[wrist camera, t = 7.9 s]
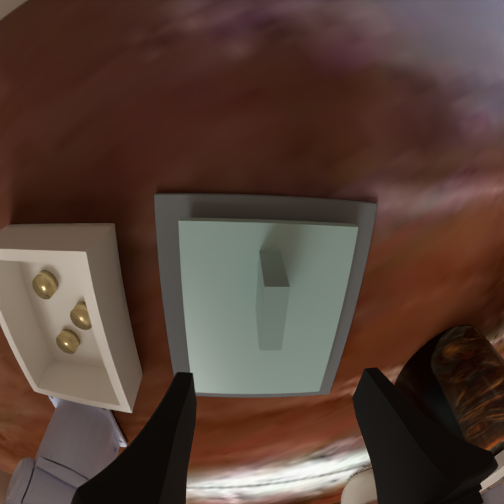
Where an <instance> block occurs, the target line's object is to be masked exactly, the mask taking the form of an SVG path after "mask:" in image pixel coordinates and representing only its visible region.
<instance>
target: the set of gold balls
mask: <svg viewBox="0 0 504 504" xmlns="http://www.w3.org/2000/svg"><path fill="white" fill-rule="evenodd" d="M32 286H33V289H34V291H35V293H36V294H37V295H38V296H39V297H40V298H42V299H46V300H47V299H50V298H51V297H52V296H53V295H54V293H55V292H56V291H57V290H58V281H57V279H56V277H55V276H54V275H53V274H52V273H51V272H49V271H47V270H43V271H41V272H40V273H39V274H38V275H37V276H36V277H35V278H34V279H33V281H32ZM70 318H71V321H72V322H73V324H74V325H75V326H77V327H78V328H80V329H82V330H89V329H91V327H92V324H91V321H90V317H89V314H88V310H87V306H86V302H84V301H80V302H78V303H77V304H76V305H75V306H74V308H73V309H72V311H71V312H70ZM56 343H57V345H58V347H59V348H60V349H61V350H62V351H63V352H65V353H68V354H74V353H75V352H76V350H77V348H78V346H79V345H80V339H79V337H78V335H77V334H76V333H75V332H74V331H72V330H70V329H63V330H61V332H60V333H59V335H58V337H57V338H56Z"/></svg>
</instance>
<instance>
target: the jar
mask: <svg viewBox="0 0 504 504" xmlns="http://www.w3.org/2000/svg"><path fill="white" fill-rule="evenodd" d="M395 387H396V388H397V389H398V390H399V391H400V392H401V393H402V394H403V395H404V396H405V397H406V398H407V399H408V400H409V401H410V402H411V403H412V404H413V405H414V406H415V407H417V408H418V409H419V410H420V411H421V412H422V413H423V414H425V415H426V416H427V417H428V418H429V419H431V420H432V421H434V422H435V423H436V424H438V425H439V426H440V427H442V428H443V429H445V430H446V431H448V432H450V433H451V434H453V435H455V436H456V437H458V438H460V439H462V440H464V441H466V442H468V443H470V444H472V445H475V446H477V447H480V448H483V449H485V450H488V451H491V452H492V453H493V455H494V457H495V459H496V461H497V463H498V468H497V469H496V470H495V471H494V472H493V473H492V474H491V475H490V476H489V477H488V478H486V479H485V480H484V481H483V482H481V483H480V484H481V486H482V490H484V489H486V488H487V487H489V486H490V485H492V484H493V483H495V482H496V481H497V480H499V479H500V478H502V477H503V476H504V359H503V358H502V357H501V355H500V354H499V353H498V352H497V350H496V349H495V348H494V347H493V346H492V344H491V343H490V342H489V341H488V340H487V339H486V337H485V336H484V335H483V334H482V333H481V332H480V331H479V330H478V329H477V328H476V327H474V326H471V325H463V326H458V327H455V328H452V329H450V330H448V331H446V332H444V333H442V334H440V335H439V336H437V337H436V338H434V339H433V340H431V341H430V342H429V343H427V344H426V345H425V346H424V347H423V348H421V349H420V350H419V351H418V352H417V353H416V354H415V355H414V356H413V357H412V358H411V359H410V361H409V362H408V363H407V364H406V365H405V367H404V368H403V370H402V371H401V373H400V374H399V376H398V378H397V380H396V383H395ZM482 490H480V491H479V492H481V491H482Z"/></svg>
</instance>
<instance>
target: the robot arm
mask: <svg viewBox="0 0 504 504" xmlns="http://www.w3.org/2000/svg"><path fill="white" fill-rule="evenodd" d="M48 396H49V395H48ZM49 398H50V400H51V401H52V403H53V405H54V406H55V408H56V409H55V411H54V414H53V416H52V418H51V420H50V423H49V425H48V427H47V429H46V432H45V434H44V437H43V439H42V441H41V444H40V446H39V449H38V451H37V454H36V456H35V458H34V459H31V458H29V457H27V458H23V459H21V460H20V462H19V463H18V465H17V467H16V469H15V471H14V473H13V476H12V478H11V481H10V484H9V487H8V491H7V498H6V501H5V504H186V482H187V470H188V463H189V458H190V452H191V446H192V440H193V435H194V429H195V422H196V406H197V401H196V394H195V386H194V377H193V373H189V372H177V373H176V374H175V376H174V379H173V381H172V383H171V385H170V387H169V389H168V391H167V392H166V394H165V396H164V398H163V399H162V401H161V403H160V404H159V406H158V407H157V409H156V411H155V412H154V414H153V415H152V417H151V418H150V419H149V421H148V422H147V424H146V425H145V426H144V428H143V429H142V430H141V432H140V433H139V434H138V435H137V437H136V438H135V439H134V440H133V441H132V442H131V443H130V445H129V446H128V447H127V442H126V440H125V438H124V437H123V435H122V433H121V431H120V429H119V427H118V425H117V423H116V421H115V419H114V416H113V414H112V412H111V410H110V409H105V408H100V407H95V406H90V405H86V404H81V403H77V402H72V401H68V400H64V399H60V398H56V397H53V396H49ZM353 404H354V409H355V414H356V418H357V421H358V424H359V427H360V430H361V433H362V436H363V439H364V442H365V445H366V448H367V451H368V454H369V457H370V460H371V464H372V469H373V474H374V479H375V486H376V493H377V502H378V504H504V486H503V484H502V483H500V484H498V485H496V486H495V487H493V488H491V489H490V490H488V491H486V492H485V493H483V494H482V495H480V492H479V491H480V490H482V486H481V484H480V483H481V482H483V481H484V480H485V479H486V478H488V477H489V476H490V475H491V474H492V473H493V472H494V471H495V470H496V469H497V468H498V463H497V461H496V459H495V457H494V455H493V453H492V452H491V451H488V450H485V449H483V448H480V447H477V446H475V445H472V444H470V443H468V442H466V441H464V440H462V439H460V438H458V437H456V436H455V435H453V434H451V433H450V432H448V431H446V430H445V429H443V428H442V427H440V426H439V425H438V424H436V423H435V422H434V421H432V420H431V419H429V418H428V417H427V416H426V415H425V414H423V413H422V412H421V411H420V410H419V409H418V408H417V407H415V406H414V405H413V404H412V403H411V402H410V401H409V400H408V399H407V398H406V397H405V396H404V395H403V394H402V393H401V392H400V391H399V390H398V389H397V388H396V387H395V386H394V385H393V384H392V383H391V382H390V381H389V380H388V378H387V377H386V376H385V375H384V374H383V373H382V372H381V371H380V370H379V369H378V368H377V367H376V368H367V369H364V371H363V374H362V376H361V379H360V381H359V384H358V386H357V389H356V391H355V393H354V396H353ZM120 446H122V447H127V448H126V449H125V450H124V451H123V452H122V453H121V454H120V455H119V456H118V457H117V455H118V451H119V447H120Z"/></svg>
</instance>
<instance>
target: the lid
mask: <svg viewBox="0 0 504 504" xmlns="http://www.w3.org/2000/svg"><path fill="white" fill-rule="evenodd" d="M178 222H179V245H180V264H181V279H182V293H183V306H184V317H185V328H186V338H187V347H188V356H189V365H190V373H193V377H194V386H195V392H199V393H222V394H280V393H303V392H319V390H320V387H321V384H322V380H323V377H324V374H325V370H326V367H327V363H328V360H329V356H330V353H331V349H332V345H333V342H334V338H335V334H336V330H337V326H338V322H339V318H340V314H341V310H342V306H343V301H344V297H345V293H346V288H347V284H348V279H349V274H350V269H351V264H352V259H353V254H354V249H355V244H356V238H357V233H358V226H357V225H356V224H350V223H332V222H312V221H290V220H264V219H232V218H185V217H180V219H179V221H178Z"/></svg>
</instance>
